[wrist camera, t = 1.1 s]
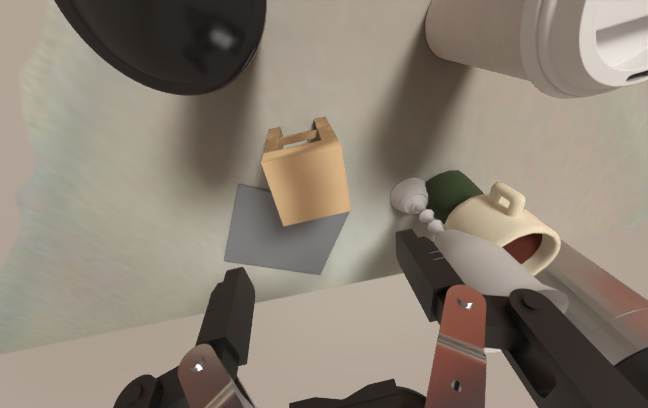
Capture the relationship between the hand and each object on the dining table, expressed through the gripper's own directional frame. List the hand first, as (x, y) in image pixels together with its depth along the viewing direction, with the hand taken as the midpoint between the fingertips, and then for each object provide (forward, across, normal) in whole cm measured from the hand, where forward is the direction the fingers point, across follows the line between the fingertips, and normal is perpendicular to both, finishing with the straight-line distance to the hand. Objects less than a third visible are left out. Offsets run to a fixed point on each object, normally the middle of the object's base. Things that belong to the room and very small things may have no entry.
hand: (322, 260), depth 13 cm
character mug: (+17, -16, +10) cm, 26 cm away
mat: (+17, +5, +11) cm, 21 cm away
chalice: (+17, -12, +9) cm, 23 cm away
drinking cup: (+17, +3, -12) cm, 21 cm away
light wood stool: (+17, 0, 0) cm, 17 cm away
